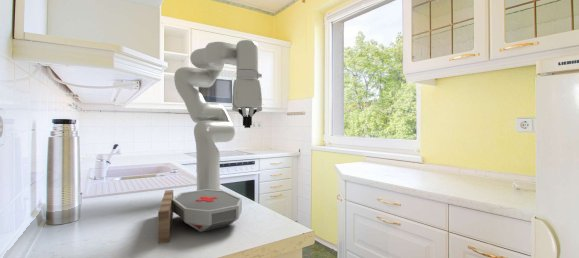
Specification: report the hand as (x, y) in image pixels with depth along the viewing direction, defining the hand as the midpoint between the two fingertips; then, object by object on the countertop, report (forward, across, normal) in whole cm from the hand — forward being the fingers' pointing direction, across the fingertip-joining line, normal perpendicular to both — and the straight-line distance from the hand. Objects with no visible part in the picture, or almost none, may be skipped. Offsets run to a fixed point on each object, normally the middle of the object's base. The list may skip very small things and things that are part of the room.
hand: (247, 127), depth 104 cm
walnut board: (+29, +26, +10) cm, 40 cm away
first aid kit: (+29, +15, +10) cm, 35 cm away
